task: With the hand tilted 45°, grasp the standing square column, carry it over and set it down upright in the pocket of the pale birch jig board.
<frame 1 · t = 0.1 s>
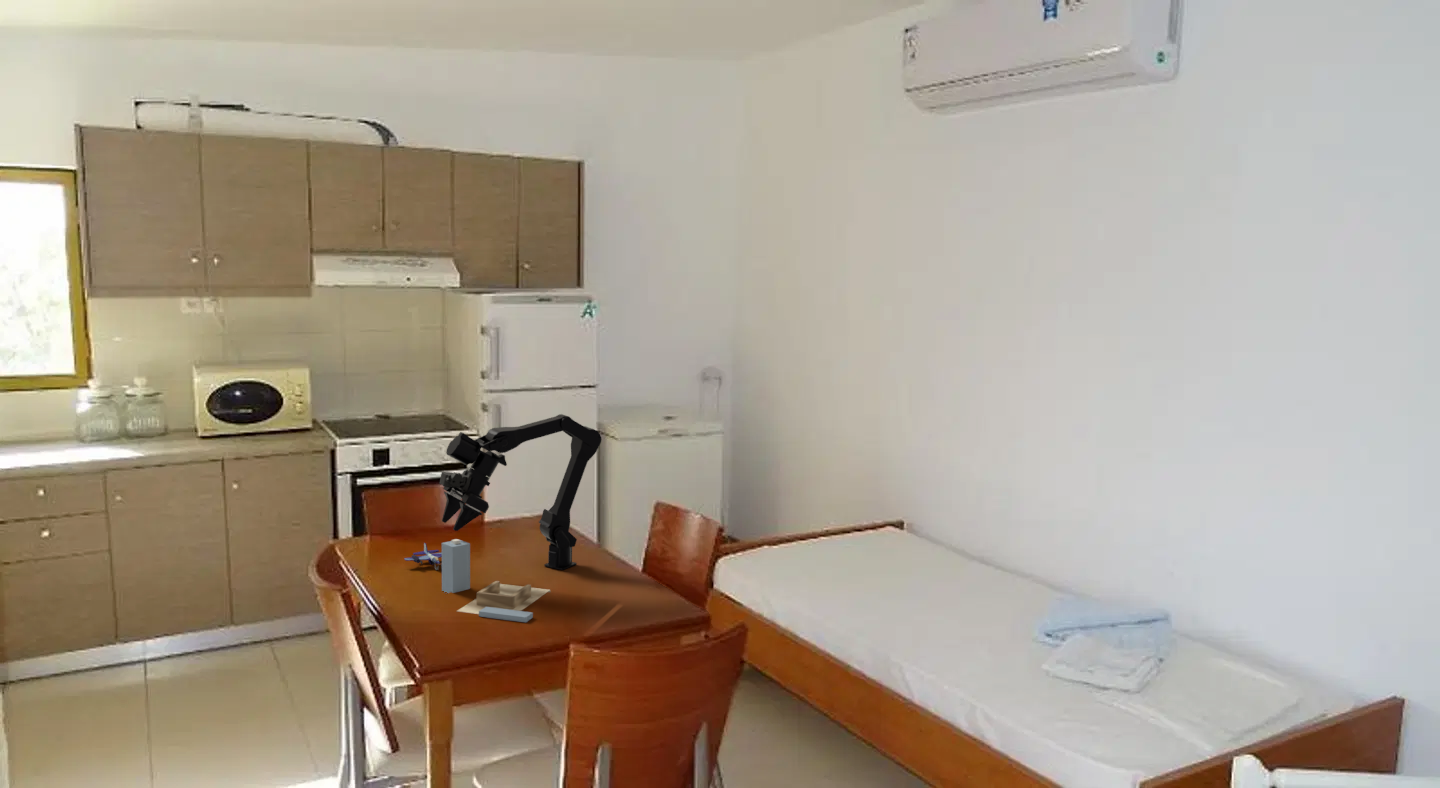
hand: (449, 526, 265), 15 cm above the table, tool tilted 30°, fingers open, 9 cm apart
jig: (505, 603, 252), on the table
square column: (456, 591, 260), on the table
toy airplane: (432, 567, 280), on the table
wing: (505, 616, 240), point 1 cm above the table, touching jig
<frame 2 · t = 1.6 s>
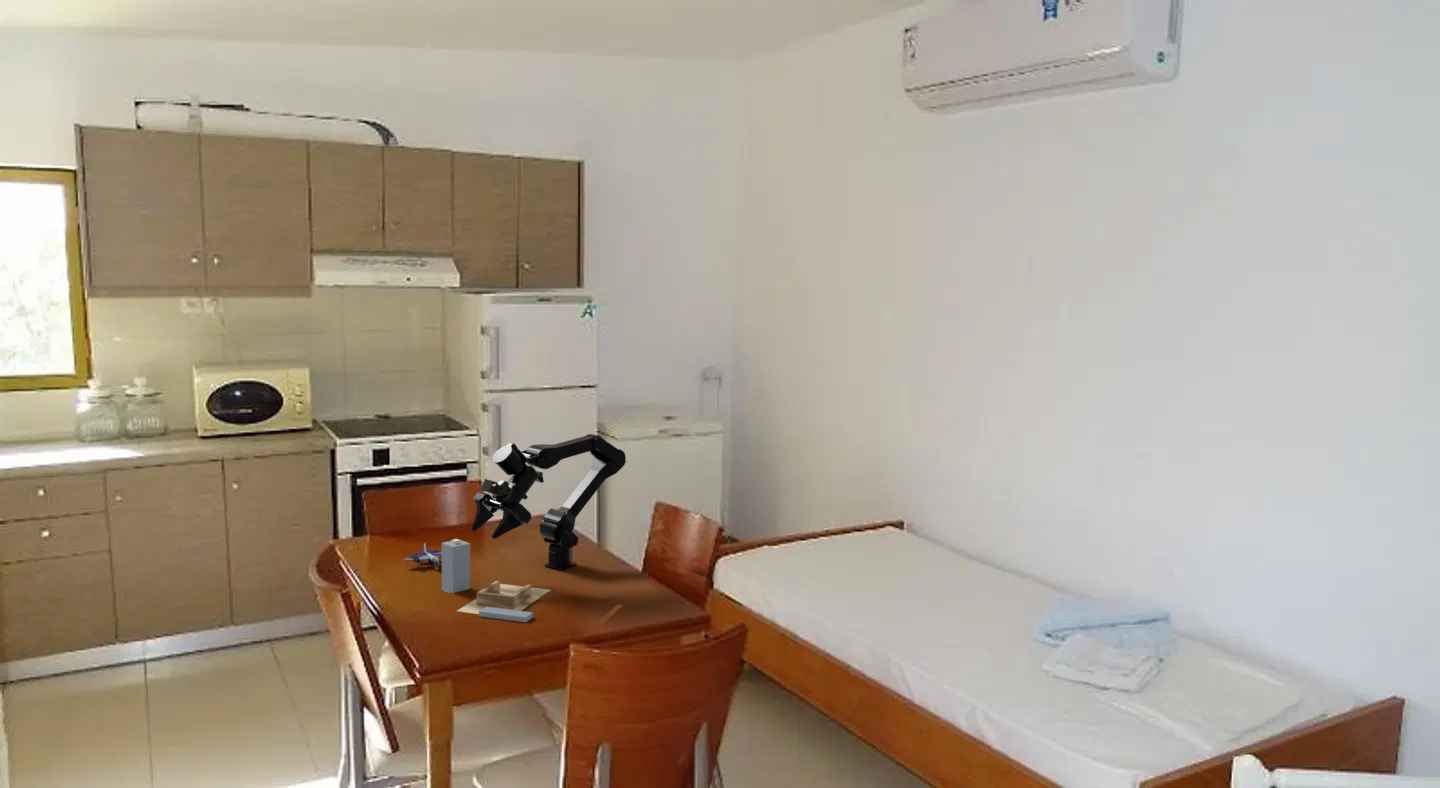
hand: (482, 534, 264), 13 cm above the table, tool tilted 45°, fingers open, 9 cm apart
nothing on the table moved.
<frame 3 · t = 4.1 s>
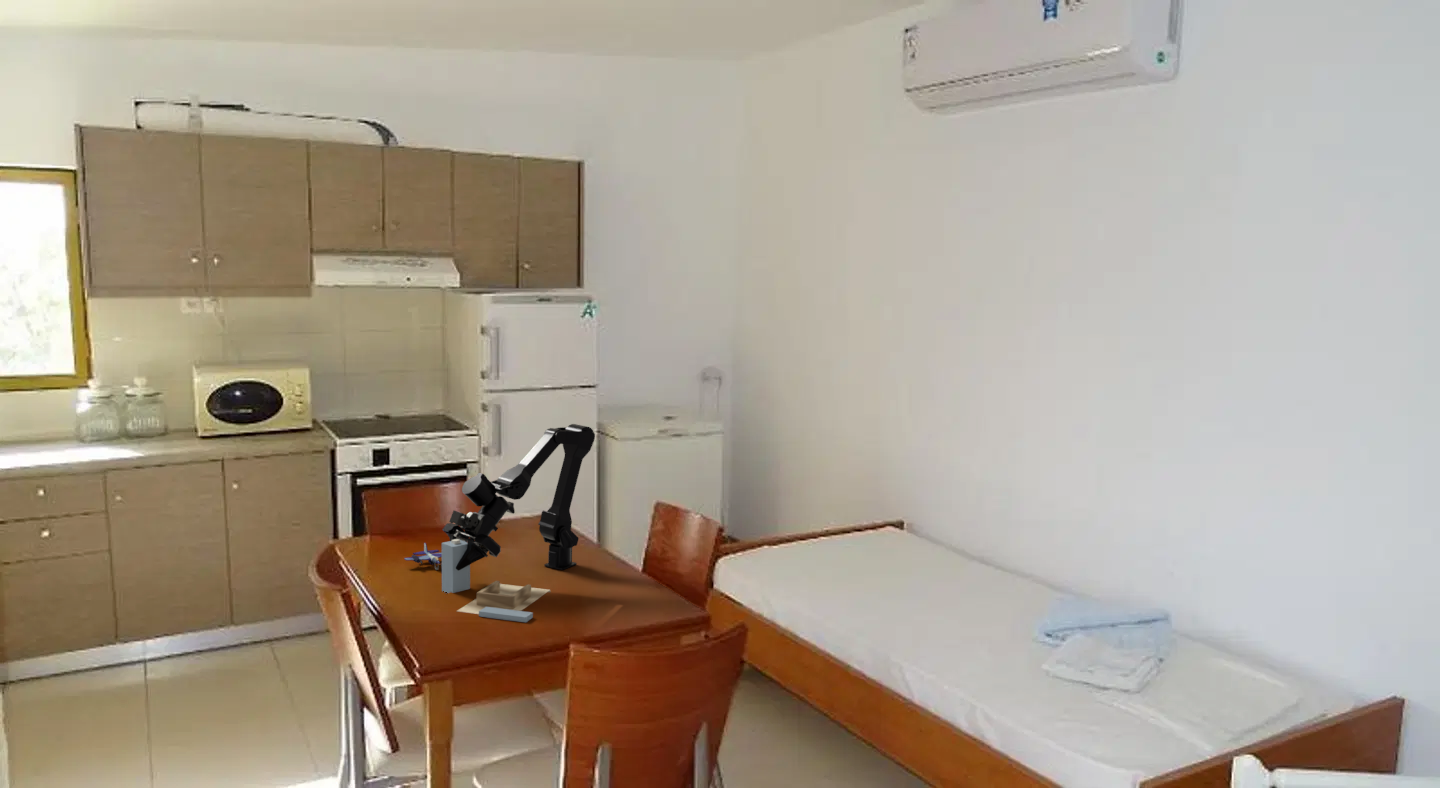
hand: (451, 567, 258), 7 cm above the table, tool tilted 45°, fingers closed on square column, 5 cm apart
square column: (456, 591, 260), on the table, touching gripper
everything else where it was.
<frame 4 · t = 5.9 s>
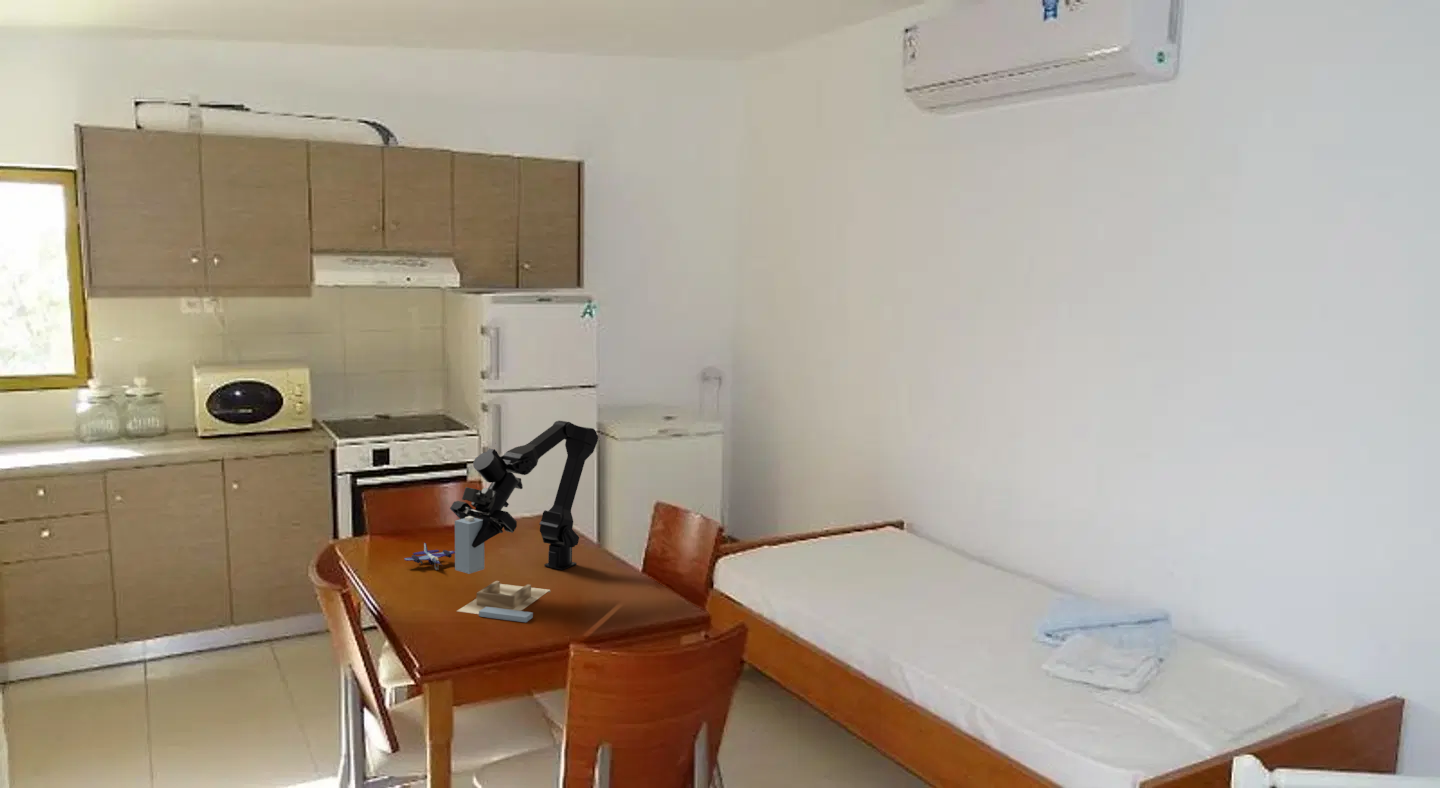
hand: (465, 544, 254), 13 cm above the table, tool tilted 45°, fingers closed on square column, 5 cm apart
square column: (469, 569, 256), point 7 cm above the table, touching gripper
everything else where it was.
when the fingers open (9 cm above the table, at t = 7.7 s): square column drops 1 cm, resting on jig.
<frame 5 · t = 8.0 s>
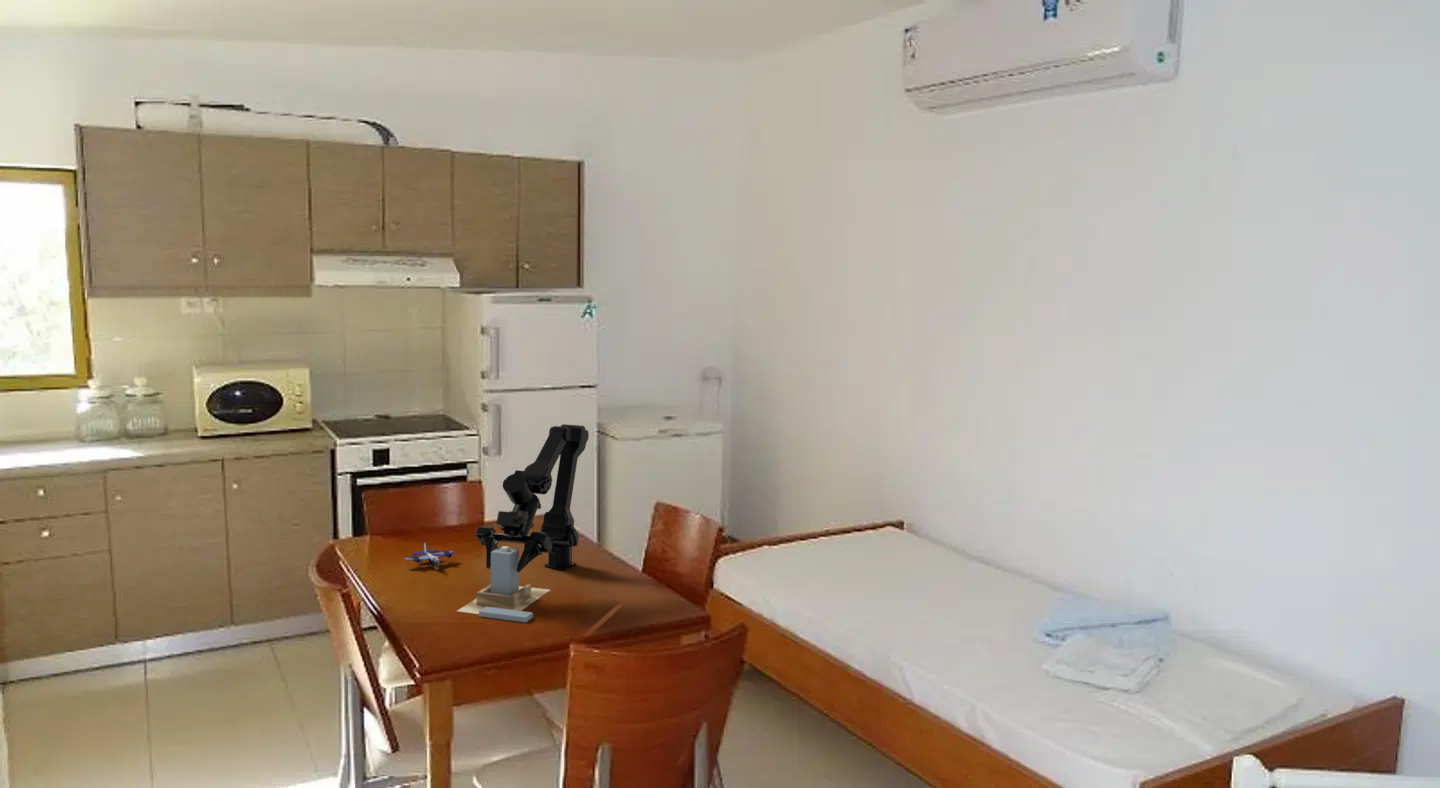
hand: (502, 569, 250), 9 cm above the table, tool tilted 45°, fingers open, 8 cm apart
square column: (504, 600, 252), point 1 cm above the table, touching jig
everything else where it was.
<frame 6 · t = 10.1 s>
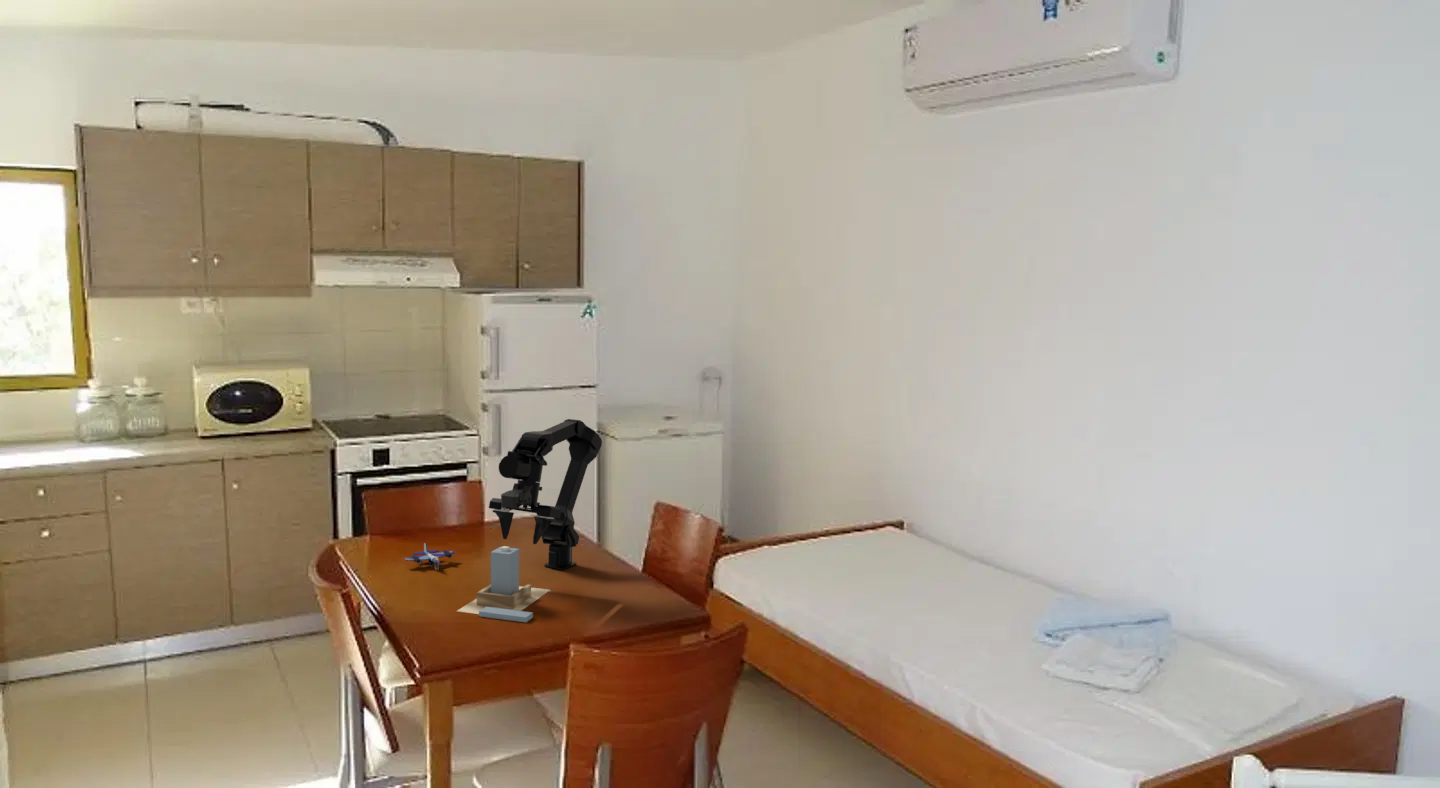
hand: (519, 541, 265), 11 cm above the table, tool pointing down, fingers open, 9 cm apart
nothing on the table moved.
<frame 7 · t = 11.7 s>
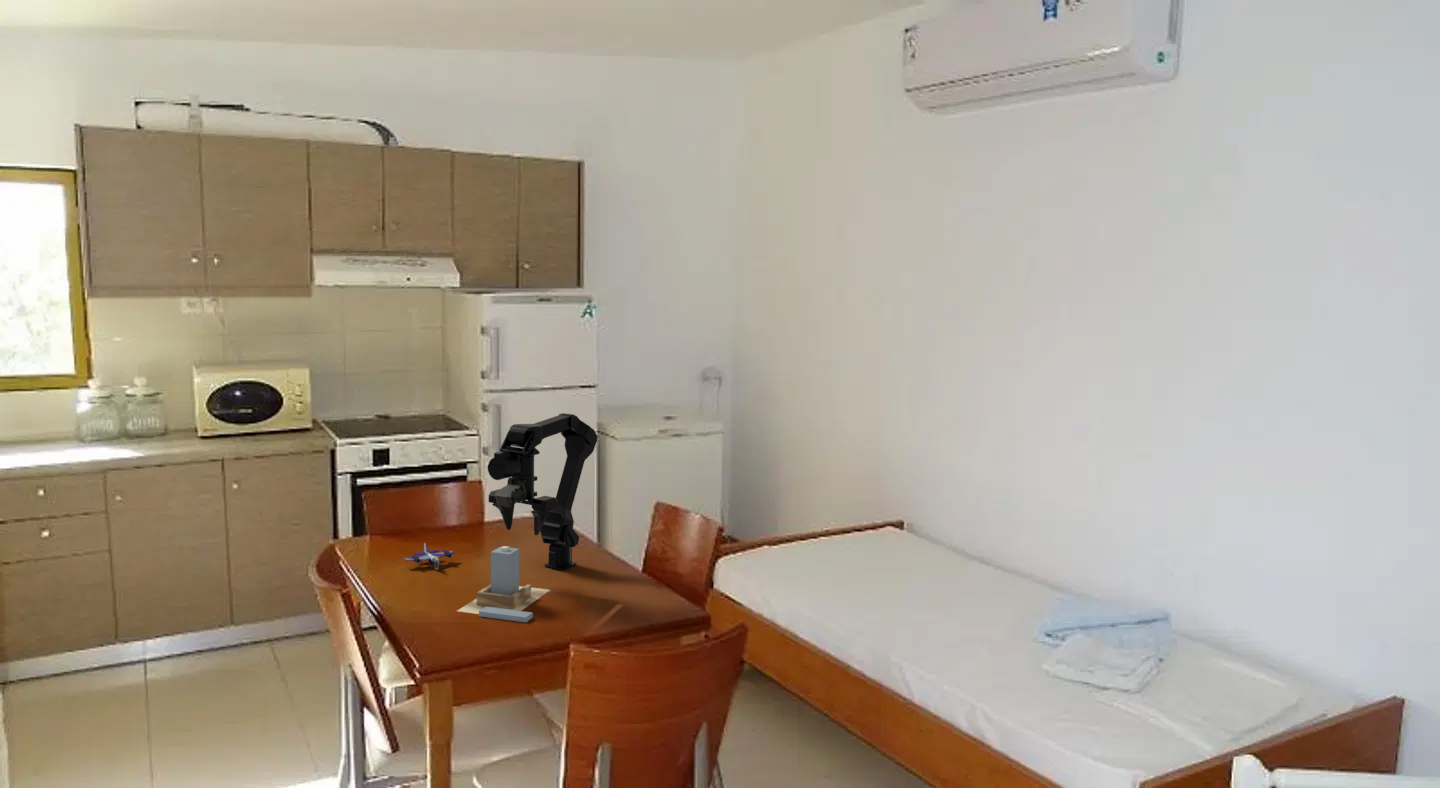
hand: (522, 532, 268), 13 cm above the table, tool pointing down, fingers open, 9 cm apart
nothing on the table moved.
at the end: square column inside the target area on the jig (0.0 cm from its centre), point 0.8 cm above the jig's base; square column tilted 0°; the gripper is holding nothing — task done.
